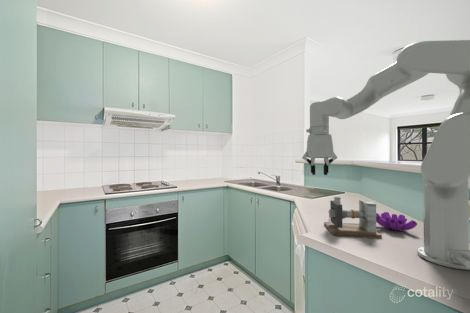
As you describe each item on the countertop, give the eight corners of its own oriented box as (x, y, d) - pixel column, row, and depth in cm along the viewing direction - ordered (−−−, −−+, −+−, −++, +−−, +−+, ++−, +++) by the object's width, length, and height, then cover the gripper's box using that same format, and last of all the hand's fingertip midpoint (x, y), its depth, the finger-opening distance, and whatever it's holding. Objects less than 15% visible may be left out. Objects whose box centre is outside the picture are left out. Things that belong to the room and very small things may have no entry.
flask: (326, 215, 111) (326, 196, 111) (337, 214, 113) (337, 195, 113) (337, 219, 104) (336, 199, 104) (348, 218, 106) (348, 198, 106)
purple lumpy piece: (394, 242, 83) (377, 221, 85) (382, 230, 98) (367, 212, 100) (422, 227, 80) (404, 206, 82) (405, 217, 95) (390, 199, 97)
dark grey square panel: (342, 227, 83) (342, 205, 84) (337, 227, 84) (336, 204, 84) (335, 221, 92) (335, 200, 92) (330, 220, 93) (330, 200, 93)
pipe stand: (381, 238, 79) (381, 205, 79) (333, 235, 82) (333, 204, 82) (365, 226, 93) (364, 198, 93) (324, 224, 95) (324, 197, 96)
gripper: (300, 131, 87) (300, 175, 87) (343, 130, 84) (343, 175, 84) (297, 133, 95) (297, 173, 94) (337, 132, 92) (337, 174, 92)
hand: (319, 174), depth 89 cm, fingers open, 4 cm apart
